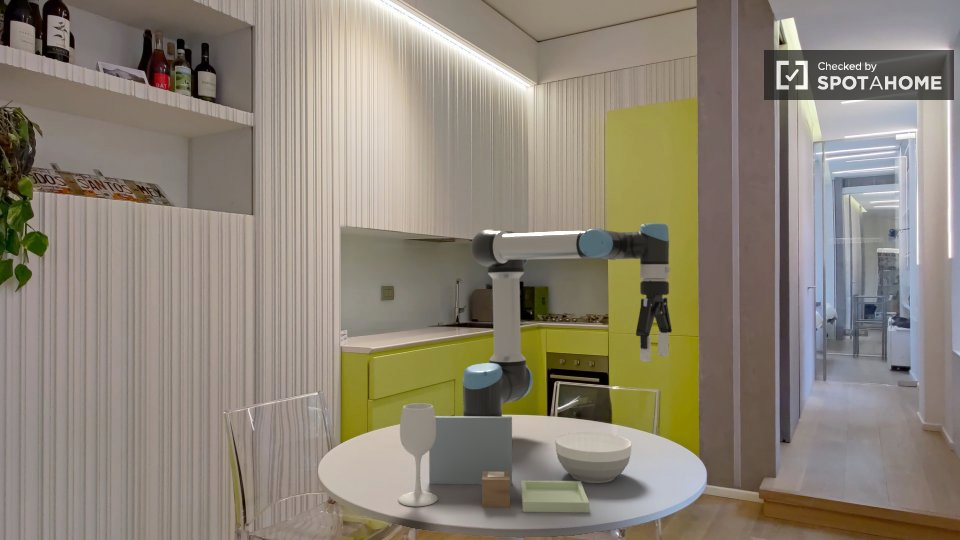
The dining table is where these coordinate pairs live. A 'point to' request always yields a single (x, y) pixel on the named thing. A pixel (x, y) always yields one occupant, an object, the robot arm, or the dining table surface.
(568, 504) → the tray
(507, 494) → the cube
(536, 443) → the dining table surface
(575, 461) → the bowl
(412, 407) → the wineglass
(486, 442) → the screen
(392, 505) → the dining table surface
